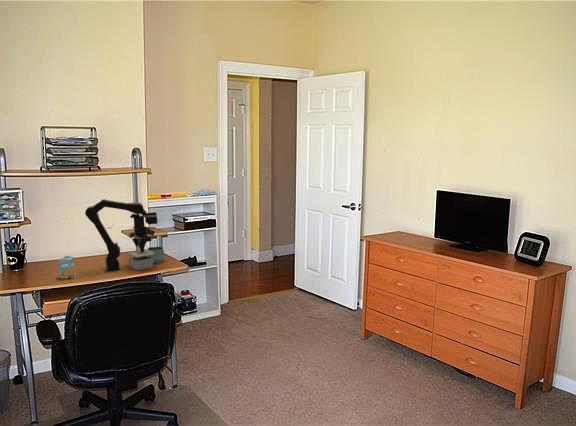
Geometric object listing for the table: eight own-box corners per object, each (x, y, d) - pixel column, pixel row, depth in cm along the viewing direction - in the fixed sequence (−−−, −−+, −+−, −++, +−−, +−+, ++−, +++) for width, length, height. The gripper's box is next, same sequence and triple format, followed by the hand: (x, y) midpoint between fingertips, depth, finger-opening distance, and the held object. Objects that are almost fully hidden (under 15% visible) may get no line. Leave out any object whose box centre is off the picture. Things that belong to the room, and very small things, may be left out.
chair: (60, 276, 285) (58, 255, 283) (76, 275, 287) (74, 254, 285) (58, 280, 278) (55, 258, 276) (74, 279, 280) (72, 257, 278)
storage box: (136, 271, 293) (136, 261, 292) (130, 267, 301) (129, 257, 300) (153, 268, 299) (152, 258, 298) (146, 264, 307) (145, 255, 306)
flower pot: (165, 263, 309) (164, 249, 308) (149, 265, 306) (149, 250, 304) (162, 260, 317) (162, 246, 316) (148, 261, 314) (147, 247, 313)
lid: (135, 257, 291) (135, 248, 290) (128, 253, 299) (127, 245, 299) (154, 254, 298) (153, 245, 297) (146, 250, 306) (145, 242, 305)
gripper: (159, 225, 293) (160, 252, 296) (146, 221, 308) (147, 246, 310) (140, 228, 287) (142, 255, 289) (127, 223, 301) (129, 249, 304)
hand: (140, 251), depth 298 cm, fingers closed on lid, 4 cm apart
